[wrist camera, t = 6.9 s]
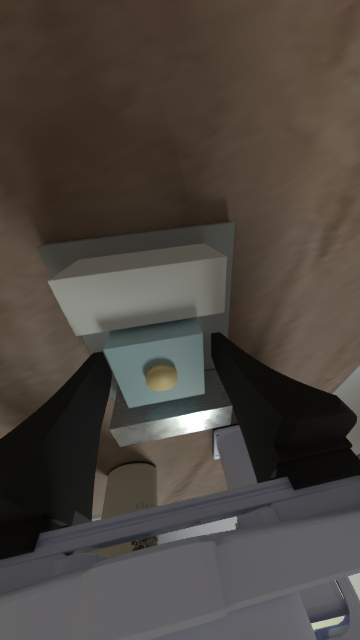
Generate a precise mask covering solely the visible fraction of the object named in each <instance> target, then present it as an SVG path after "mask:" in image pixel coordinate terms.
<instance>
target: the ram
mask: <svg viewBox="0 0 360 640" xmlns="http://www.w3.org/2000/svg"><path fill="white" fill-rule="evenodd" d="M204 386H205V394H201V395H195V396H190V397H185V398H180V399H174V400H169V401H164V402H159V403H153V404H148V405H143V406H137V407H132V408H129V407H128V405H127V403H126V400H125V398H124V396H123V394H122V391H121V389H120V387H117V392H116V398H115V403H114V408H113V414H112V419H111V424H110V431H111V433H112V435H113V436H114V438H115V440H116V441H117V443H118V445H119V446H120V447H123V446H128V445H133V444H138V443H143V442H148V441H153V440H158V439H163V438H168V437H172V436H177V435H182V434H187V433H192V432H197V431H202V430H207V429H212V428H216V427H221V426H226V425H230V424H231V415H232V404H231V401H230V399H229V397H228V395H227V393H226V390H225V388H224V386H223V384H222V382H221V380H220V378H219V376H218V373H217V371H216V369H214V370H209V371H204Z"/></svg>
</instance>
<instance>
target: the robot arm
mask: <svg viewBox="0 0 360 640" xmlns="http://www.w3.org/2000/svg"><path fill="white" fill-rule="evenodd" d="M211 357H212V360H213V363H214V366H215V369H216V371H217V373H218V376H219V378H220V380H221V382H222V384H223V386H224V388H225V390H226V393H227V395H228V397H229V399H230V401H231V404H232V406H233V409H234V412H235V415H236V418H237V420H238V423H239V425H236V426H231V427H226V428H221V429H216V430H215V431H214V453H213V456H214V459H220V460H221V464H222V467H223V471H224V475H225V478H226V482H227V485H228V489H229V490H227V491H223V492H218V493H214V494H209V495H205V496H201V497H196V498H192V499H188V500H183V501H179V502H175V503H170V504H166V505H162V506H157V507H153V508H149V509H144V510H140V511H136V512H131V513H127V514H122V515H118V516H114V517H109V518H105V519H101V520H96V521H92V506H93V492H94V480H95V470H96V461H97V453H98V445H99V438H100V431H101V426H102V421H103V417H104V413H105V409H106V405H107V401H108V397H109V393H110V389H111V381H112V371H111V369H110V367H109V365H108V362H107V360H106V358H105V356H104V353H103V351H102V352H96V353H93V354H92V355H91V356H90V357H89V358H88V359H87V360H86V361H85V362H84V364H83V365H82V366H81V367H80V368H79V369H78V370H77V371H76V373H75V374H74V375H73V376H72V377H71V378H70V379H69V380H68V381H67V382H66V383H65V384H64V385H63V386H62V387H61V388H60V389H59V390H58V391H57V392H56V393H55V394H54V395H53V396H52V397H51V398H50V399H49V400H48V401H47V402H46V403H45V404H44V405H42V406H41V407H40V408H39V409H38V410H37V411H36V412H34V413H33V414H32V415H31V416H29V417H28V418H27V419H26V420H25V421H23V422H22V423H21V424H20V425H18V426H17V427H16V428H15V429H13V430H12V431H11V432H9V433H8V434H6V435H5V436H4V437H2V438H1V439H0V640H360V600H359V598H358V596H357V594H356V592H355V590H354V588H353V586H352V584H351V582H350V580H349V578H348V576H350V575H353V574H357V573H360V454H358V455H357V456H356V455H355V453H353V451H352V450H351V449H350V448H351V447H352V444H351V443H350V442H349V440H348V439H347V438H346V435H347V434H348V433H349V432H350V431H351V429H352V428H353V427H354V425H355V424H356V422H357V416H356V414H355V413H354V412H353V411H352V410H351V409H350V408H349V407H348V406H347V405H346V404H345V403H344V402H343V401H342V400H341V399H340V398H338V397H337V396H336V395H333V394H330V393H327V392H325V391H322V390H319V389H316V388H313V387H311V386H308V385H306V384H303V383H301V382H298V381H296V380H294V379H292V378H289V377H287V376H285V375H283V374H281V373H279V372H277V371H275V370H273V369H271V368H269V367H268V366H266V365H264V364H263V363H261V362H259V361H258V360H256V359H254V358H253V357H251V356H250V355H249V354H247V353H246V352H244V351H243V350H242V349H240V348H239V347H238V346H236V345H235V344H234V343H233V342H231V341H230V340H229V339H228V338H227V337H225V336H224V335H223V334H222V333H221V332H216V333H211ZM235 516H237V522H238V523H236V524H235V526H236V529H235V530H231V531H225V532H219V533H213V534H207V535H202V536H197V537H191V538H187V539H182V540H177V541H173V542H168V543H164V544H160V545H156V546H152V547H148V548H144V549H140V550H137V551H133V552H129V553H126V554H122V555H119V556H116V557H113V558H105V557H102V556H100V555H99V553H98V552H96V553H88V554H81V553H85V552H89V551H94V550H98V549H102V548H106V547H110V546H114V545H119V544H123V543H127V542H131V541H135V540H139V539H144V538H148V537H152V536H156V535H160V534H164V533H168V532H173V531H177V530H181V529H185V528H189V527H193V526H197V525H201V524H206V523H210V522H214V521H218V520H222V519H227V518H231V517H235ZM91 521H92V522H91ZM77 554H79V555H77ZM334 580H336V582H337V584H338V586H339V588H340V590H341V592H342V594H343V597H344V599H343V597H342V595H341V593H340V591H339V589H338V587H337V585H336V583H335V581H334ZM344 615H345V618H344V620H343V621H342V622H340V623H339V624H338V625H333V626H329V627H325V628H321V629H316V630H313V628H312V626H311V623H314V622H318V621H323V620H327V619H331V618H335V617H339V616H344Z"/></svg>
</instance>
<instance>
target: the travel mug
mask: <svg viewBox="0 0 360 640" xmlns="http://www.w3.org/2000/svg"><path fill="white" fill-rule="evenodd" d="M157 506H158V499H157V469H156V468H155V467H154V466H152V465H150V464H147V463H140V462H137V463H129V464H125V465H121V466H119V467H117V468H116V469H114V470H113V471H111V472H110V473H109V475H108V480H107V486H106V493H105V499H104V505H103V512H102V518H101V519H105V518H109V517H114V516H118V515H122V514H127V513H131V512H136V511H140V510H144V509H149V508H153V507H157ZM156 545H159V539H158V535H156V536H152V537H148V538H144V539H139V540H135V541H131V542H127V543H123V544H119V545H114V546H110V547H106V548H102V549H98V550H96V552H98V553H99V555H100V556H102V557H105V558H113V557H116V556H119V555H122V554H126V553H129V552H133V551H137V550H140V549H144V548H148V547H152V546H156Z"/></svg>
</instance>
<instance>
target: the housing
mask: <svg viewBox="0 0 360 640" xmlns="http://www.w3.org/2000/svg"><path fill="white" fill-rule="evenodd" d="M103 350H104V352H105V355H106V357H107V359H108V362H109V364H110V366H111V368H112V371H113V373H114V375H115V378H116V380H117V382H118V384H119V387H120V389H121V391H122V394H123V396H124V398H125V400H126V403H127V405H128V407H129V408H132V407H137V406H143V405H148V404H153V403H159V402H164V401H169V400H174V399H180V398H185V397H190V396H195V395H201V394H205V386H204V357H203V333H202V331H201V328H200V326H199V324H198V321H197V319H196V317H193V318H187V319H181V320H174V321H168V322H162V323H156V324H149V325H143V326H137V327H130V328H124V329H118V330H112V331H110V332H109V335H108V338H107V340H106V343H105V346H104V349H103Z"/></svg>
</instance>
